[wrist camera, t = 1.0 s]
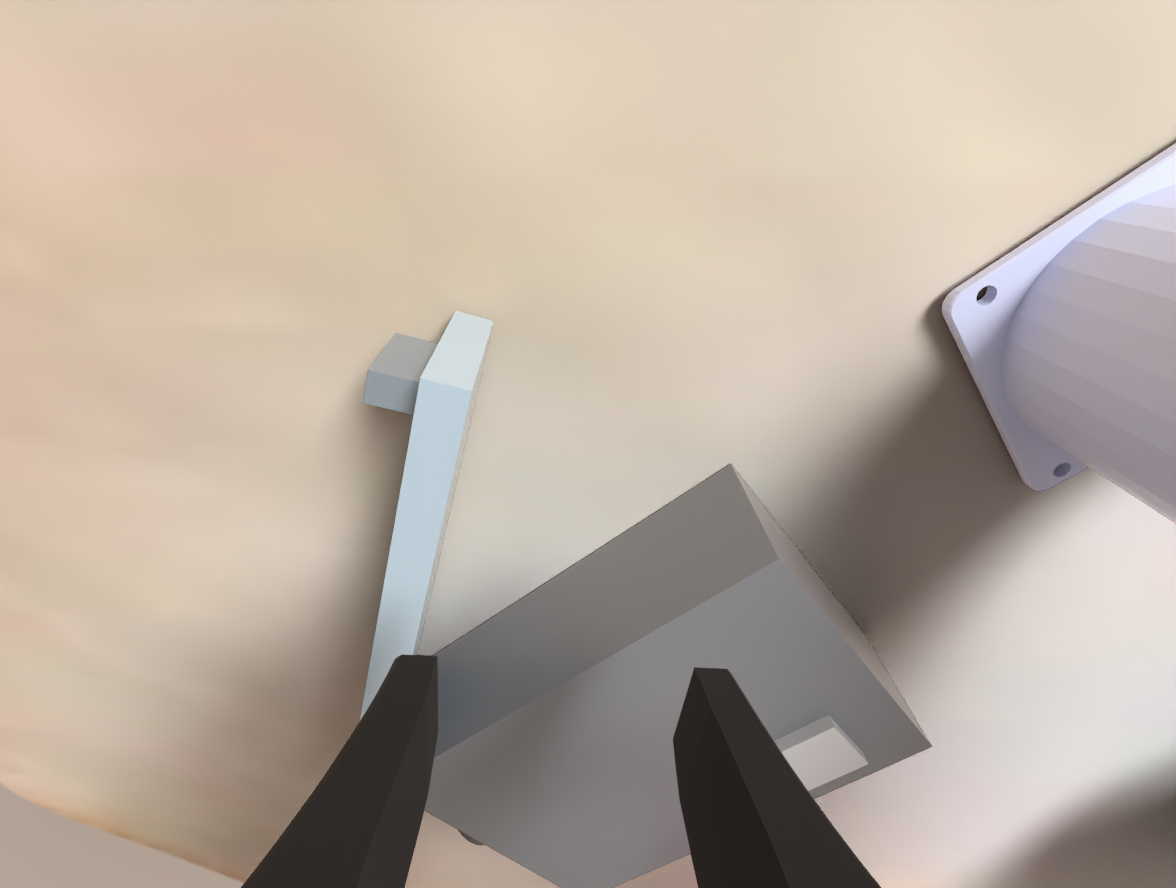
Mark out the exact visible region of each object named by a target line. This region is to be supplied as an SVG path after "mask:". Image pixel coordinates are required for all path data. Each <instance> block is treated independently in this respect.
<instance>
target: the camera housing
mask: <svg viewBox="0 0 1176 888" xmlns="http://www.w3.org/2000/svg"><path fill="white" fill-rule="evenodd" d="M433 656H438V736H437V742H436V748H435V755H434V761H433V767H432V773H431V779H430V785H429V791H428V797H427V801H426V805H425V809H424V811H426V812H428V813H430V814H431V815H433V816H435V817H437V818H439V819H440V820H442V821H444V822H446V823H447V824H449V825H451V826H453V827H454V828H456V829H458V831H459V832H460V833H461V834H462V836H463V837H464V838H466V839H467V840H468V841H470V842H471V843H474V844H476V845H486V846H488V847H490V848H492V849H493V850H495V851H497V852H499V853H500V854H502V855H504V856H506V857H508V858H509V859H511V860H513V861H515V862H516V863H518V864H520V865H522V866H523V867H525V868H527V869H529V870H531V871H532V872H534V873H536V874H538V875H539V876H541V877H543V878H545V879H547V880H548V881H550V882H552V883H554V884H555V885H557V886H559V887H561V888H614V887H616V886H618V885H620V884H623V883H625V882H627V881H629V880H632V879H634V878H636V877H639V876H641V875H643V874H645V873H648V872H650V871H652V870H654V869H657V868H659V867H661V866H663V865H666V864H668V863H670V862H672V861H675V860H677V859H679V858H682V857H684V856H686V855H688V854H691V852H690V847H689V842H688V838H687V833H686V828H685V824H684V819H683V814H682V810H681V805H680V799H679V791H678V783H677V775H676V765H675V756H674V746H673V737H674V733H675V730H676V727H677V723H678V720H679V717H680V713H681V710H682V707H683V703H684V700H685V697H686V693H687V690H688V687H689V684H690V680H691V677H692V674H693V670H694V667H697V668H720V669H728V670H729V671H730V672H731V674H732V675H733V677H734V679H735V680H736V682H737V683H738V685H739V687H740V688H741V690H742V692H743V693H744V695H745V696H746V698H747V700H748V701H749V703H750V704H751V706H752V708H753V709H754V711H755V712H756V714H757V715H758V717H759V719H760V720H761V722H762V723H763V725H764V726H765V728H766V730H767V731H768V733H769V734H770V736H771V737H772V739H773V740H774V742H775V743H776V745H777V746H778V748H779V749H780V751H781V752H782V754H783V755H784V757H785V758H786V760H787V761H788V763H789V764H790V766H791V767H792V769H793V770H794V772H795V773H796V774H797V776H798V777H799V779H800V780H801V782H802V783H803V784H804V786H805V787H806V789H807V790H808V792H809V793H810V795H811V796H812V797H813V799H815V798H817V797H820V796H822V795H824V794H826V793H829V792H831V791H833V790H835V789H838V788H840V787H842V786H844V785H847V784H849V783H851V782H854V781H856V780H858V779H860V778H863V777H865V776H867V775H869V774H872V773H874V772H876V771H878V770H881V769H883V768H885V767H887V766H890V765H892V764H894V763H897V762H899V761H901V760H903V759H906V758H908V757H910V756H912V755H915V754H917V753H919V752H921V751H924V750H926V749H928V748H930V747H932V745H931V743H930V742H929V740H928V738H927V737H926V735H925V733H924V732H923V730H922V728H921V727H920V725H919V723H918V722H917V720H916V718H915V717H914V715H913V713H912V712H911V710H910V708H909V707H908V705H907V703H906V702H905V700H904V698H903V697H902V695H901V693H900V692H899V690H898V688H897V687H896V685H895V683H894V682H893V680H892V678H891V677H890V675H889V673H888V672H887V670H886V668H885V667H884V665H883V663H882V662H881V660H880V658H879V657H878V655H877V653H876V652H875V650H874V648H873V647H872V645H871V643H870V642H869V640H868V638H867V637H866V635H865V634H864V633H863V631H862V630H861V629H860V628H859V626H858V625H857V624H856V622H855V621H854V620H853V619H852V617H851V616H850V615H849V614H848V612H847V611H846V610H845V608H844V607H843V606H842V605H841V603H840V602H839V601H838V600H837V598H836V597H835V596H834V594H833V593H832V592H831V591H830V589H829V588H828V587H827V586H826V584H825V583H824V582H823V580H822V579H821V578H820V577H819V575H818V574H817V573H816V571H815V570H814V569H813V568H812V566H811V565H810V564H809V563H808V561H807V560H806V559H805V557H804V556H803V555H802V554H801V552H800V551H799V550H798V549H797V547H796V546H795V545H794V543H793V542H792V541H791V540H790V538H789V537H788V536H787V535H786V533H785V532H784V531H783V529H782V528H781V527H780V526H779V524H778V523H777V522H776V520H775V519H774V518H773V517H772V515H771V514H770V513H769V512H768V510H767V509H766V508H765V506H764V505H763V504H762V503H761V501H760V500H759V499H758V498H757V496H756V495H755V494H754V492H753V491H752V490H751V489H750V487H749V486H748V485H747V484H746V482H745V481H744V480H743V478H742V477H741V476H740V475H739V473H738V472H737V471H736V470H735V468H734V467H733V466H732V464H729V465H728V466H726V467H725V468H723V469H722V470H720V471H719V472H717V473H715V474H714V475H712V476H711V477H709V478H708V479H706V480H705V481H703V482H701V483H700V484H698V485H697V486H695V487H694V488H692V489H691V490H689V491H688V492H686V493H684V494H683V495H681V496H680V497H678V498H677V499H675V500H674V501H672V502H670V503H669V504H667V505H666V506H664V507H663V508H661V509H660V510H658V511H656V512H655V513H653V514H652V515H650V516H649V517H647V518H646V519H644V520H643V521H641V522H639V523H638V524H636V525H635V526H633V527H632V528H630V529H629V530H627V531H625V532H624V533H622V534H621V535H619V536H618V537H616V538H615V539H613V540H611V541H610V542H608V543H607V544H605V545H604V546H602V547H601V548H599V549H597V550H596V551H594V552H593V553H591V554H590V555H588V556H587V557H585V558H584V559H582V560H580V561H579V562H577V563H576V564H574V565H573V566H571V567H570V568H568V569H566V570H565V571H563V572H562V573H560V574H559V575H557V576H556V577H554V578H552V579H551V580H549V581H548V582H546V583H545V584H543V585H542V586H540V587H538V588H537V589H535V590H534V591H532V592H531V593H529V594H528V595H526V596H525V597H523V598H521V599H520V600H518V601H517V602H515V603H514V604H512V605H511V606H509V607H507V608H506V609H504V610H503V611H501V612H500V613H498V614H497V615H495V616H493V617H492V618H490V619H489V620H487V621H486V622H484V623H483V624H481V625H480V626H478V627H476V628H475V629H473V630H472V631H470V632H469V633H467V634H466V635H464V636H462V637H461V638H459V639H458V640H456V641H455V642H453V643H452V644H450V645H448V646H447V647H445V648H444V649H442V650H441V651H439V652H438V653H436V654H434V655H433Z"/></svg>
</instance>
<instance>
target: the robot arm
mask: <svg viewBox="0 0 1176 888" xmlns="http://www.w3.org/2000/svg"><path fill="white" fill-rule="evenodd" d="M986 286H987V292H986V294H985V296H984V297H983V298H981V299H980V300H978V301H977V298H976V297H977V295H978V292H979V291H980V290H981V289H982V288H983V287H986ZM942 314H943V317H944V319H945V321H946V323H947V325H948V327H949V329H950V331H951V333H952V335H953V337H954V339H955V342H956V344H957V346H958V348H959V350H960V352H961V354H962V356H963V358H964V360H965V362H966V364H967V366H968V369H969V371H970V373H971V375H972V377H973V379H974V381H975V383H976V385H977V387H978V389H979V391H980V393H981V396H982V398H983V400H984V402H985V404H986V406H987V408H988V410H989V412H990V414H991V416H992V418H993V421H994V423H995V425H996V427H997V429H998V431H999V433H1000V435H1001V437H1002V439H1003V441H1004V443H1005V445H1006V448H1007V450H1008V452H1009V454H1010V456H1011V458H1012V460H1013V462H1014V464H1015V466H1016V468H1017V470H1018V472H1019V475H1020V477H1021V479H1022V481H1023V482H1024V483H1025V484H1026V485H1027V486H1028V487H1030V488H1031V489H1032V490H1035V491H1043V490H1046V489H1049V488H1051V487H1053V486H1055V485H1057V484H1059V483H1060V482H1062V481H1064V480H1066V479H1068V478H1070V477H1072V476H1074V475H1075V474H1077V473H1079V472H1081V471H1083V470H1085V469H1087V468H1088V467H1089V468H1091V469H1093V470H1094V471H1096V472H1097V473H1099V474H1100V475H1102V476H1103V477H1105V478H1106V479H1108V480H1109V481H1111V482H1112V483H1114V484H1116V485H1117V486H1119V487H1120V488H1122V489H1123V490H1125V491H1126V492H1128V493H1129V494H1131V495H1132V496H1134V497H1135V498H1137V499H1139V500H1140V501H1142V502H1143V503H1145V504H1146V505H1148V506H1149V507H1151V508H1152V509H1154V510H1155V511H1157V512H1158V513H1160V514H1162V515H1163V516H1165V517H1166V518H1168V519H1169V520H1171V521H1172V522H1174V523H1175V524H1176V143H1175V144H1173V145H1172V146H1170V147H1169V148H1167V149H1166V150H1164V151H1163V152H1161V153H1160V154H1158V155H1157V156H1155V157H1154V158H1152V159H1151V160H1149V161H1148V162H1146V163H1144V164H1143V165H1141V166H1140V167H1138V168H1137V169H1135V170H1134V171H1132V172H1131V173H1129V174H1128V175H1126V176H1125V177H1123V178H1122V179H1120V180H1119V181H1117V182H1116V183H1114V184H1113V185H1111V186H1110V187H1108V188H1107V189H1105V190H1104V191H1102V192H1100V193H1099V194H1097V195H1096V196H1094V197H1093V198H1091V199H1090V200H1088V201H1087V202H1085V203H1084V204H1082V205H1081V206H1079V207H1078V208H1076V209H1075V210H1073V211H1072V212H1070V213H1069V214H1067V215H1066V216H1064V217H1063V218H1061V219H1060V220H1058V221H1056V222H1055V223H1053V224H1052V225H1050V226H1049V227H1047V228H1046V229H1044V230H1043V231H1041V232H1040V233H1038V234H1037V235H1035V236H1034V237H1032V238H1031V239H1029V240H1028V241H1026V242H1025V243H1023V244H1022V245H1020V246H1019V247H1017V248H1016V249H1014V250H1013V251H1011V252H1009V253H1008V254H1006V255H1005V256H1003V257H1002V258H1000V259H999V260H997V261H996V262H994V263H993V264H991V265H990V266H988V267H987V268H985V269H984V270H982V271H981V272H979V273H978V274H976V275H975V276H973V277H972V278H970V279H969V280H967V281H965V282H964V283H962V284H961V285H959V286H958V287H956V288H955V289H953V290H952V291H951V292H950V293H949V294H948V295H947V296H946V298H945V300H944V301H943V305H942ZM1058 465H1059V466H1058ZM1057 466H1058V467H1057ZM1056 467H1057V468H1056ZM1055 468H1056V469H1055ZM437 736H438V656H424V655H400V656H399V657H397V658H396V659H395V660H394V662H393V664H392V666H391V668H390V670H389V672H388V674H387V676H386V677H385V679H384V681H383V683H382V685H381V687H380V688H379V690H378V692H377V694H376V695H375V697H374V699H373V701H372V702H371V704H370V706H369V707H368V709H367V711H366V712H365V714H364V716H363V717H362V719H361V720H360V722H359V724H358V725H357V727H356V729H355V730H354V732H353V733H352V735H351V736H350V738H349V739H348V741H347V742H346V744H345V746H344V747H343V749H342V750H341V752H340V753H339V755H338V756H337V758H336V759H335V761H334V762H333V764H332V765H331V767H330V768H329V770H328V771H327V773H326V774H325V776H324V777H323V779H322V780H321V781H320V783H319V784H318V786H317V787H316V789H315V790H314V791H313V793H312V794H311V796H310V797H309V798H308V800H307V801H306V802H305V804H304V805H303V807H302V808H301V809H300V811H299V812H298V813H297V815H296V816H295V817H294V819H293V820H292V822H291V823H290V824H289V826H288V827H287V828H286V830H285V831H284V833H283V834H282V835H281V837H280V838H279V839H278V841H277V842H276V843H275V845H274V846H273V847H272V849H271V850H270V851H269V852H268V854H267V855H266V856H265V858H264V859H263V860H262V862H261V863H260V864H259V865H258V867H257V868H256V869H255V871H254V872H253V873H252V874H251V876H250V877H249V878H248V879H247V881H246V882H245V883H244V884H243V886H242V887H241V888H404V887H405V883H406V879H407V875H408V872H409V868H410V864H411V860H412V856H413V852H414V848H415V844H416V840H417V836H418V832H419V829H420V825H421V821H422V817H423V813H424V809H425V805H426V801H427V797H428V791H429V785H430V779H431V773H432V767H433V761H434V755H435V748H436V742H437ZM673 746H674V756H675V765H676V775H677V783H678V791H679V799H680V805H681V810H682V814H683V819H684V824H685V828H686V833H687V838H688V842H689V847H690V852H691V856H692V861H693V865H694V870H695V874H696V879H697V883H698V888H881V887H880V886H879V884H878V883H877V882H876V881H875V879H874V878H873V877H872V876H871V874H870V873H869V872H868V871H867V869H866V868H865V867H864V866H863V864H862V863H861V862H860V861H859V859H858V858H857V857H856V855H855V854H854V853H853V851H852V850H851V849H850V847H849V846H848V845H847V844H846V842H845V841H844V840H843V838H842V837H841V836H840V834H839V833H838V832H837V830H836V829H835V828H834V826H833V825H832V824H831V822H830V821H829V820H828V818H827V817H826V815H825V814H824V813H823V811H822V810H821V809H820V807H819V806H818V804H817V803H816V802H815V800H814V799H813V797H812V796H811V795H810V793H809V792H808V790H807V789H806V787H805V786H804V784H803V783H802V782H801V780H800V779H799V777H798V776H797V774H796V773H795V772H794V770H793V769H792V767H791V766H790V764H789V763H788V761H787V760H786V758H785V757H784V755H783V754H782V752H781V751H780V749H779V748H778V746H777V745H776V743H775V742H774V740H773V739H772V737H771V736H770V734H769V733H768V731H767V730H766V728H765V726H764V725H763V723H762V722H761V720H760V719H759V717H758V715H757V714H756V712H755V711H754V709H753V708H752V706H751V704H750V703H749V701H748V700H747V698H746V696H745V695H744V693H743V692H742V690H741V688H740V687H739V685H738V683H737V682H736V680H735V679H734V677H733V675H732V674H731V672H730V671H729V670H728V669H720V668H697V667H694V670H693V674H692V677H691V680H690V684H689V687H688V690H687V693H686V697H685V700H684V703H683V707H682V710H681V713H680V717H679V720H678V723H677V727H676V730H675V733H674V737H673Z"/></svg>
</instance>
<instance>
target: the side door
mask: <svg viewBox="0 0 1176 888" xmlns="http://www.w3.org/2000/svg"><path fill="white" fill-rule="evenodd" d="M493 322H494V321H492V320H488V319H485V318H481V317H477V316H474V315H470V314H466V313H463V312H459V311H455V313H454V315H453V317H452V319H451V320H450V322H449V324H448V326H447V328H446V330H445V332H444V334H443V336H442V337H441V339H440V341H439V343H438V344H437V343H433V342H429V341H425V340H421V339H418V338H414V337H410V336H406V335H402V334H398V333H395V334H394V336H393V337H392V338H391V340H390V341H389V342H388V344H387V345H386V346H385V348H384V349H383V350H382V352H381V353H380V354H379V356H378V357H377V358H376V360H375V361H374V362H373V363H372V365H371V366H370V367H369V369H368V373H367V380H366V388H365V396H364V403H365V404H369V405H373V406H377V407H382V408H386V409H390V410H394V411H399V412H403V413H407V414H411V415H414V416H413V421H412V427H411V433H410V438H409V444H408V450H407V455H406V461H405V467H404V472H403V478H402V484H401V489H400V495H399V501H398V506H397V512H396V518H395V523H394V529H393V535H392V540H391V546H390V552H389V557H388V563H387V569H386V574H385V580H384V586H383V591H382V597H381V603H380V608H379V614H378V620H377V625H376V631H375V637H374V642H373V648H372V654H371V659H370V665H369V671H368V676H367V682H366V688H365V693H364V699H363V705H362V710H361V716H360V720H361V719H362V717H363V716H364V714H365V712H366V711H367V709H368V707H369V706H370V704H371V702H372V701H373V699H374V697H375V695H376V694H377V692H378V690H379V688H380V687H381V685H382V683H383V681H384V679H385V677H386V676H387V674H388V672H389V670H390V668H391V666H392V664H393V662H394V660H395V659H396V658H397V657H399V656H400V655H417V653H418V649H419V644H420V640H421V635H422V631H423V627H424V622H425V618H426V614H427V609H428V605H429V601H430V596H431V592H432V588H433V583H434V579H435V574H436V570H437V566H438V561H439V557H440V553H441V548H442V544H443V540H444V535H445V531H446V527H447V522H448V518H449V513H450V509H451V505H452V500H453V496H454V492H455V487H456V483H457V479H458V474H459V470H460V466H461V461H462V457H463V452H464V448H465V444H466V439H467V435H468V431H469V426H470V422H471V418H472V413H473V409H474V405H475V400H476V396H477V391H478V387H479V383H480V378H481V374H482V370H483V365H484V361H485V357H486V352H487V348H488V344H489V339H490V335H491V331H492V326H493Z"/></svg>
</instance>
